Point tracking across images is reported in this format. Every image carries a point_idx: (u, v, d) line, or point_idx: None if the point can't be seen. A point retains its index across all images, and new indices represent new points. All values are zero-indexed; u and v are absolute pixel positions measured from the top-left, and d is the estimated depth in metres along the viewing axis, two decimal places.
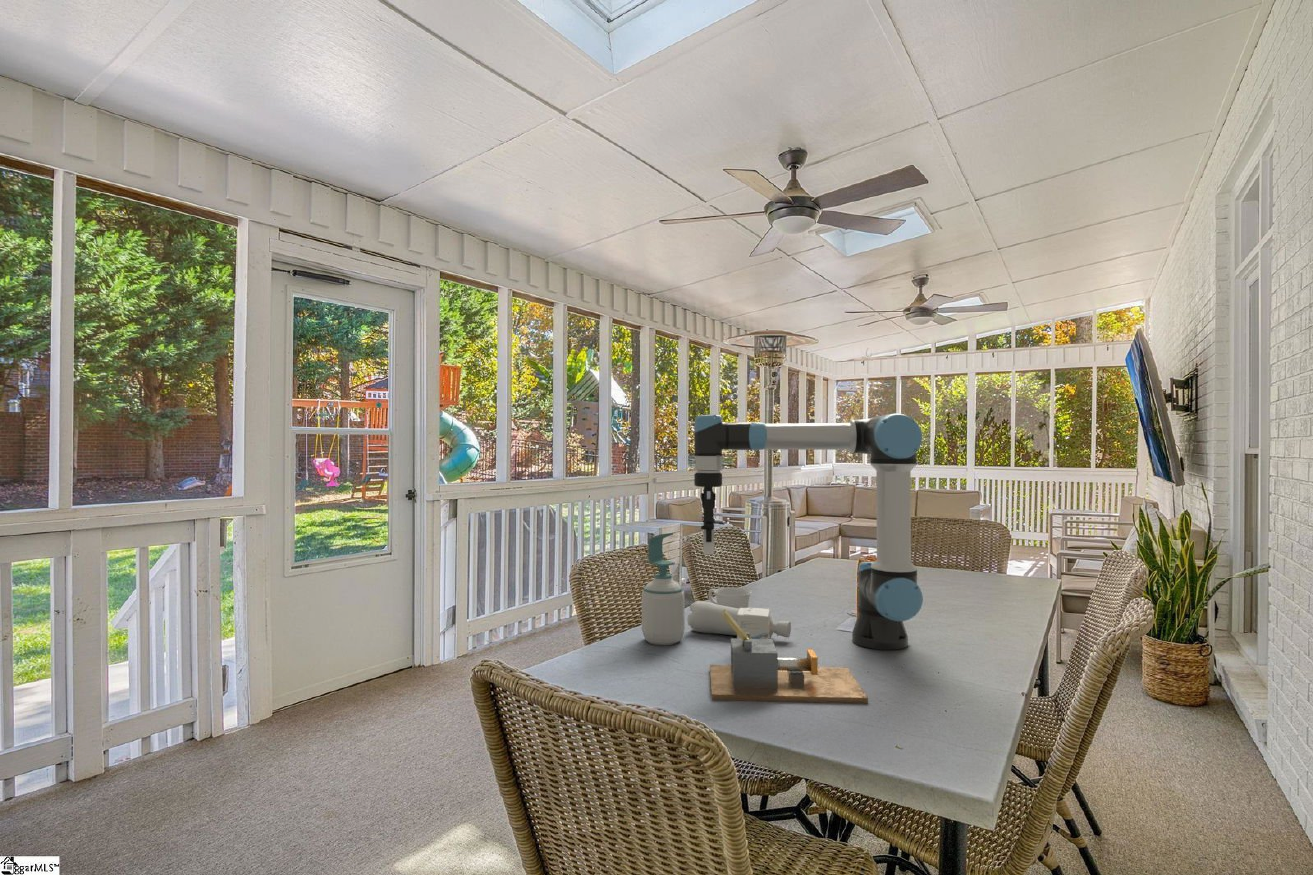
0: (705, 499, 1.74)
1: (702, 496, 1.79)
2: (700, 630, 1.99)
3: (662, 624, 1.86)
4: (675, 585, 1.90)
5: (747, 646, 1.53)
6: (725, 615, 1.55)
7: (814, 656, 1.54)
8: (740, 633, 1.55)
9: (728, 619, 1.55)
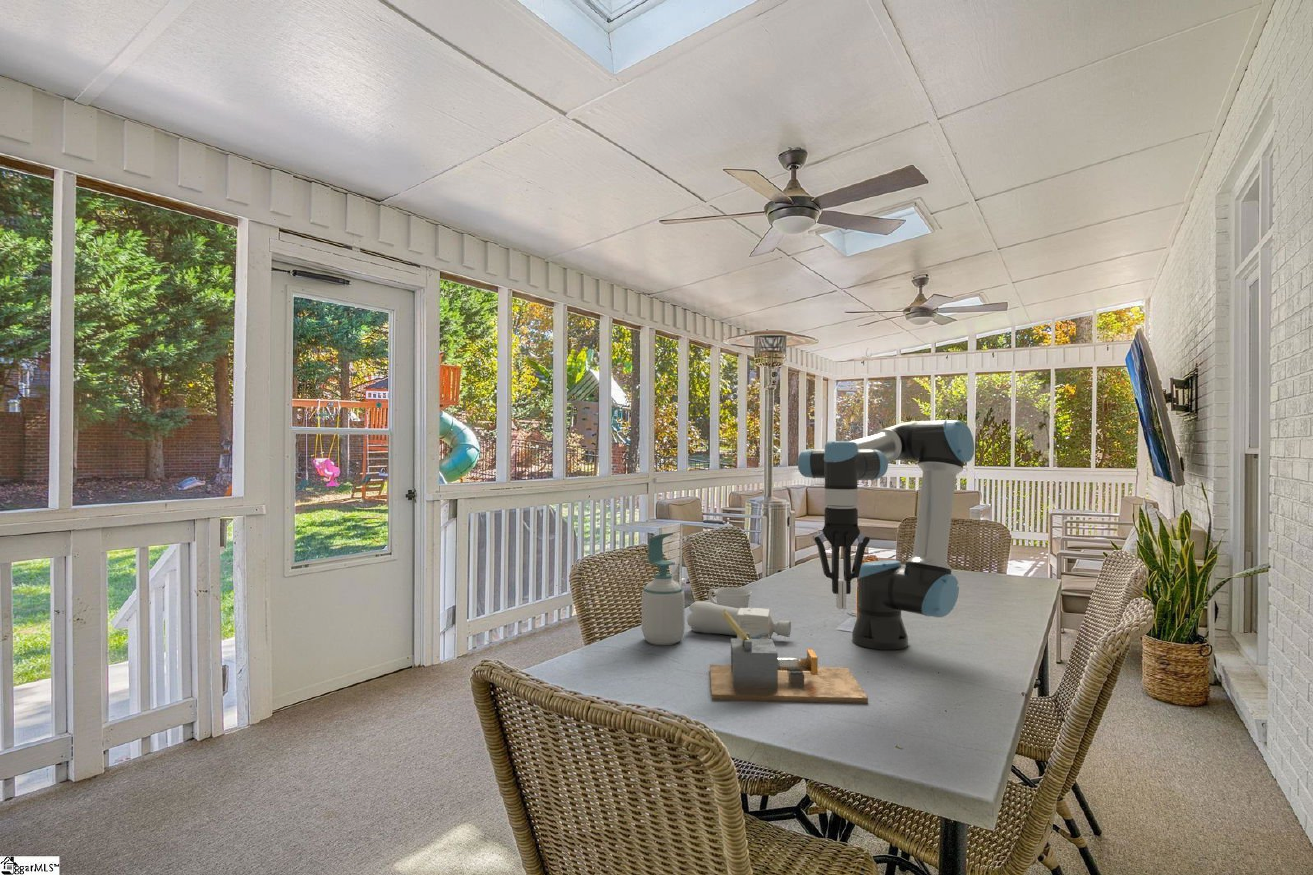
0: (817, 545, 1.57)
1: None
2: (700, 630, 1.99)
3: (662, 624, 1.86)
4: (675, 585, 1.90)
5: (747, 646, 1.53)
6: (725, 615, 1.55)
7: (814, 656, 1.54)
8: (740, 633, 1.55)
9: (728, 619, 1.55)
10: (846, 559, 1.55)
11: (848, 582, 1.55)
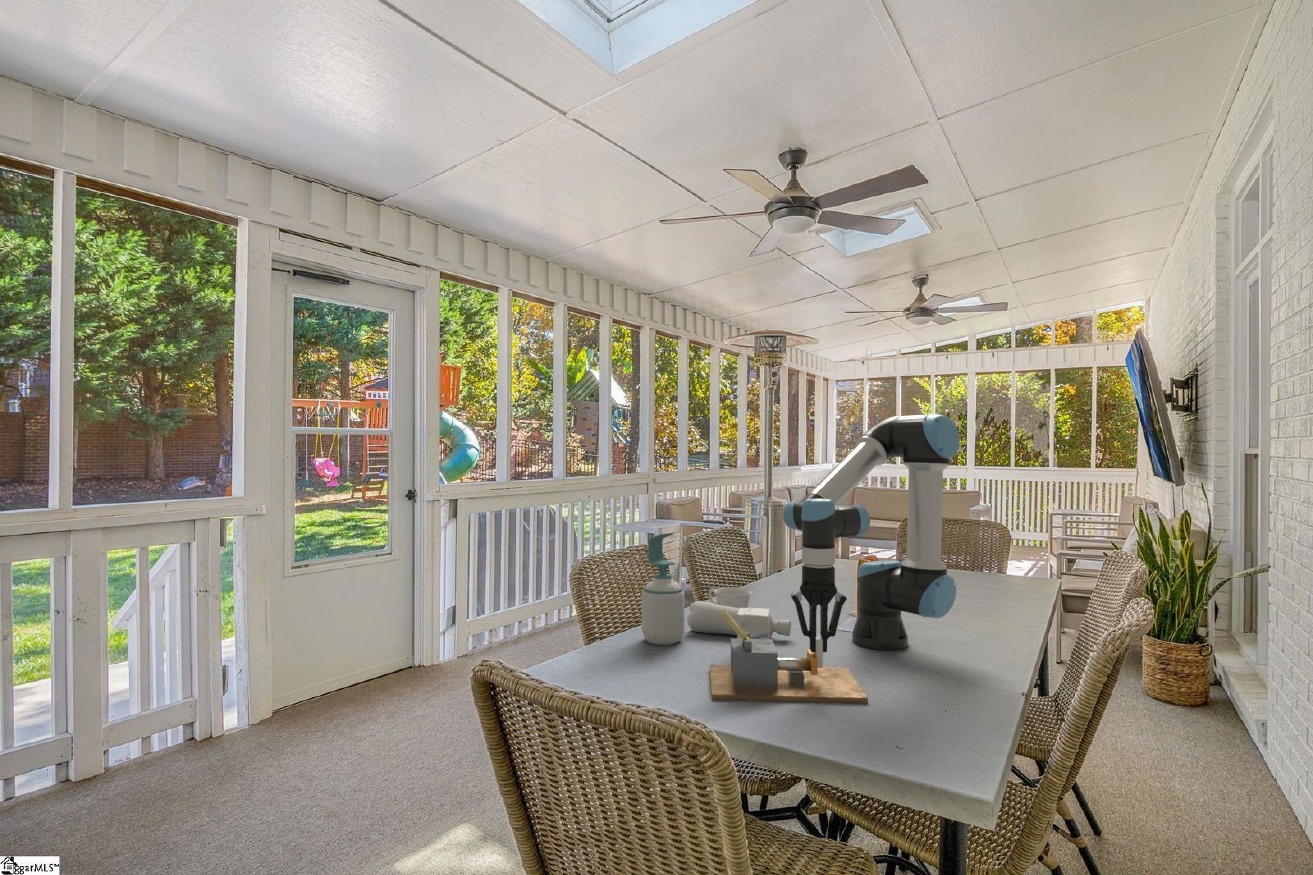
0: None
1: None
2: (700, 630, 1.99)
3: (662, 624, 1.86)
4: (675, 585, 1.90)
5: (747, 646, 1.53)
6: (725, 615, 1.55)
7: (814, 656, 1.54)
8: (740, 633, 1.55)
9: (728, 619, 1.55)
10: (823, 618, 1.55)
11: (825, 641, 1.55)
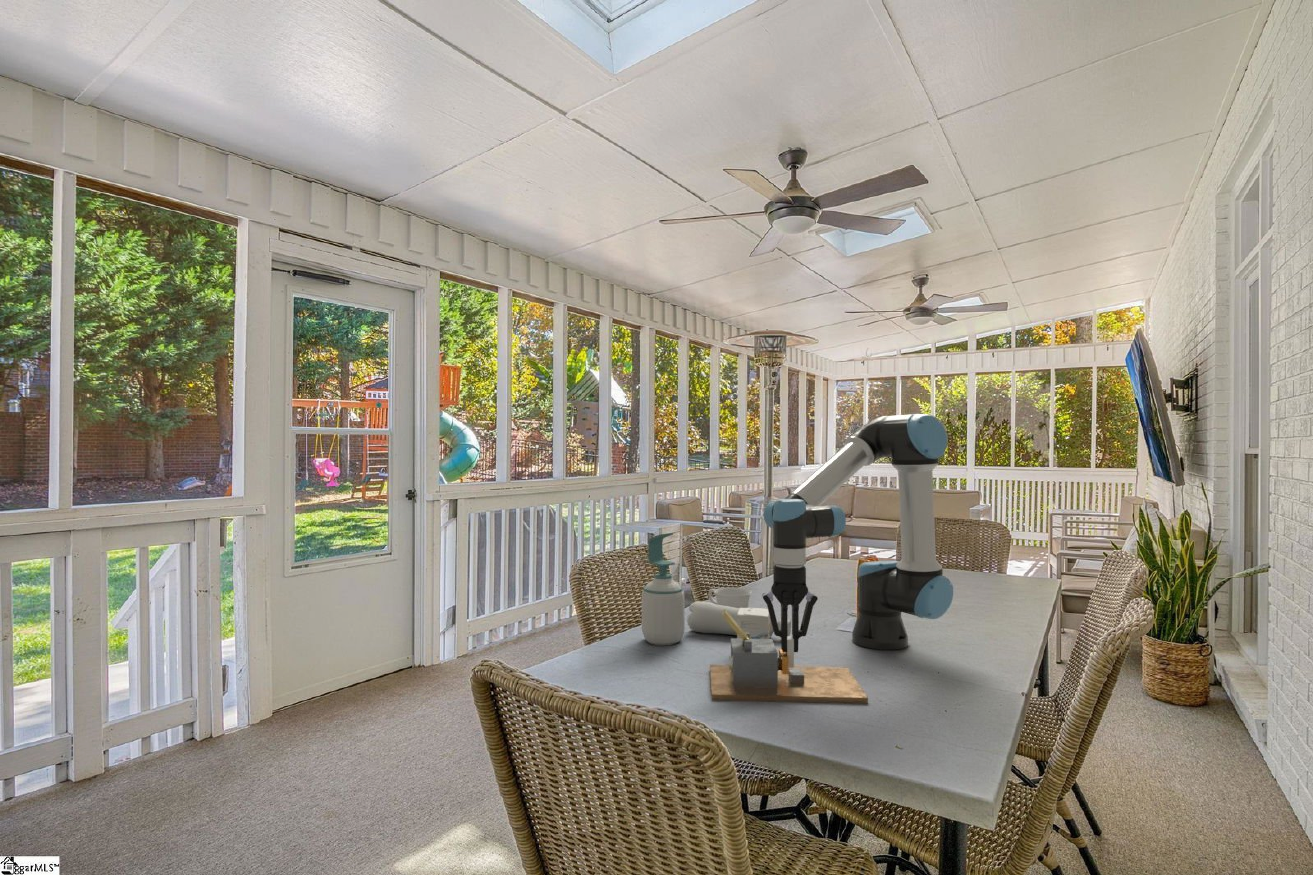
0: None
1: None
2: (700, 630, 1.99)
3: (662, 624, 1.86)
4: (675, 585, 1.90)
5: (747, 646, 1.53)
6: (725, 615, 1.55)
7: (785, 655, 1.54)
8: (740, 633, 1.55)
9: (728, 619, 1.55)
10: (794, 618, 1.55)
11: (796, 640, 1.56)
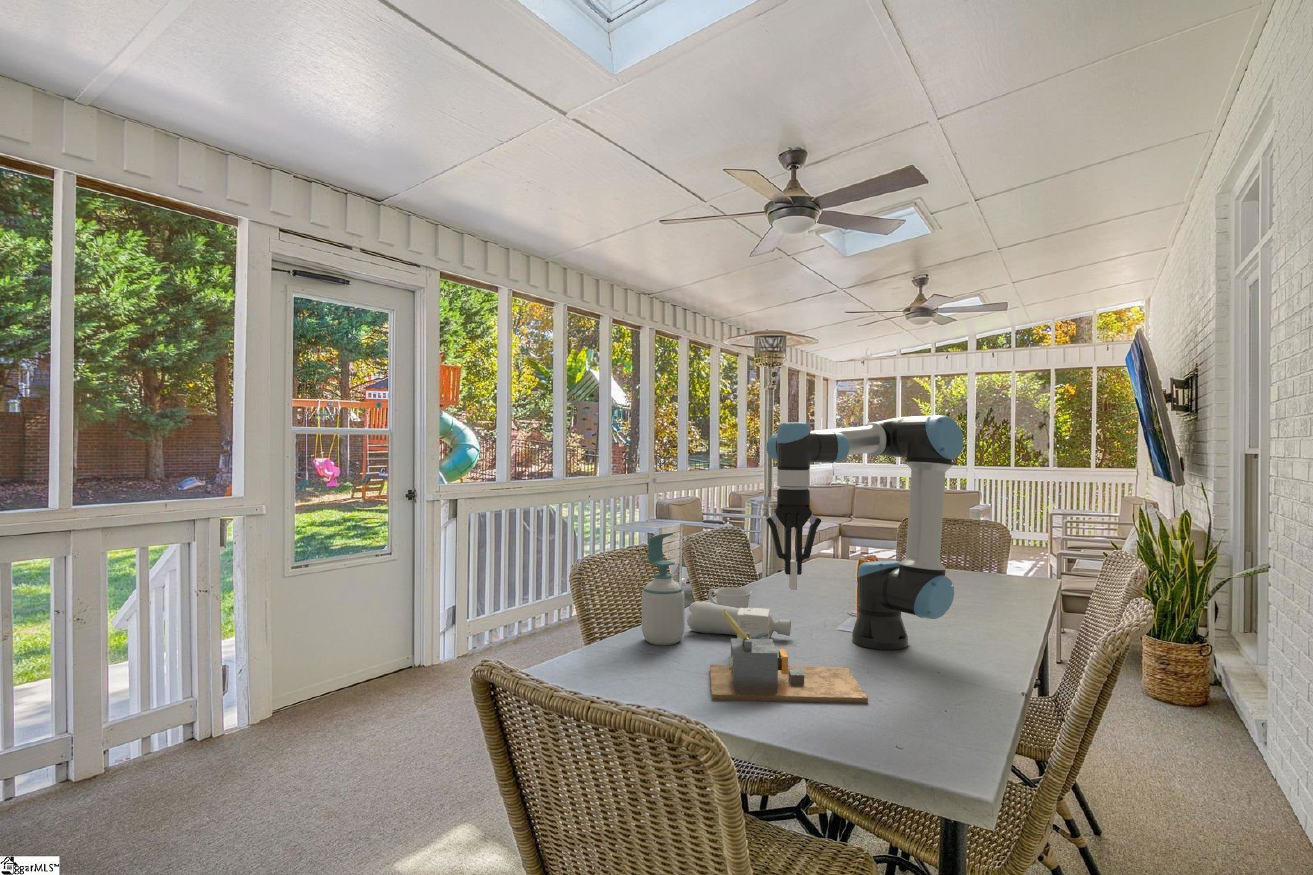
0: (770, 526, 1.58)
1: None
2: (700, 630, 1.99)
3: (662, 624, 1.86)
4: (675, 585, 1.90)
5: (747, 646, 1.53)
6: (725, 615, 1.55)
7: (785, 655, 1.54)
8: (740, 633, 1.55)
9: (728, 619, 1.55)
10: (797, 540, 1.56)
11: (799, 563, 1.56)
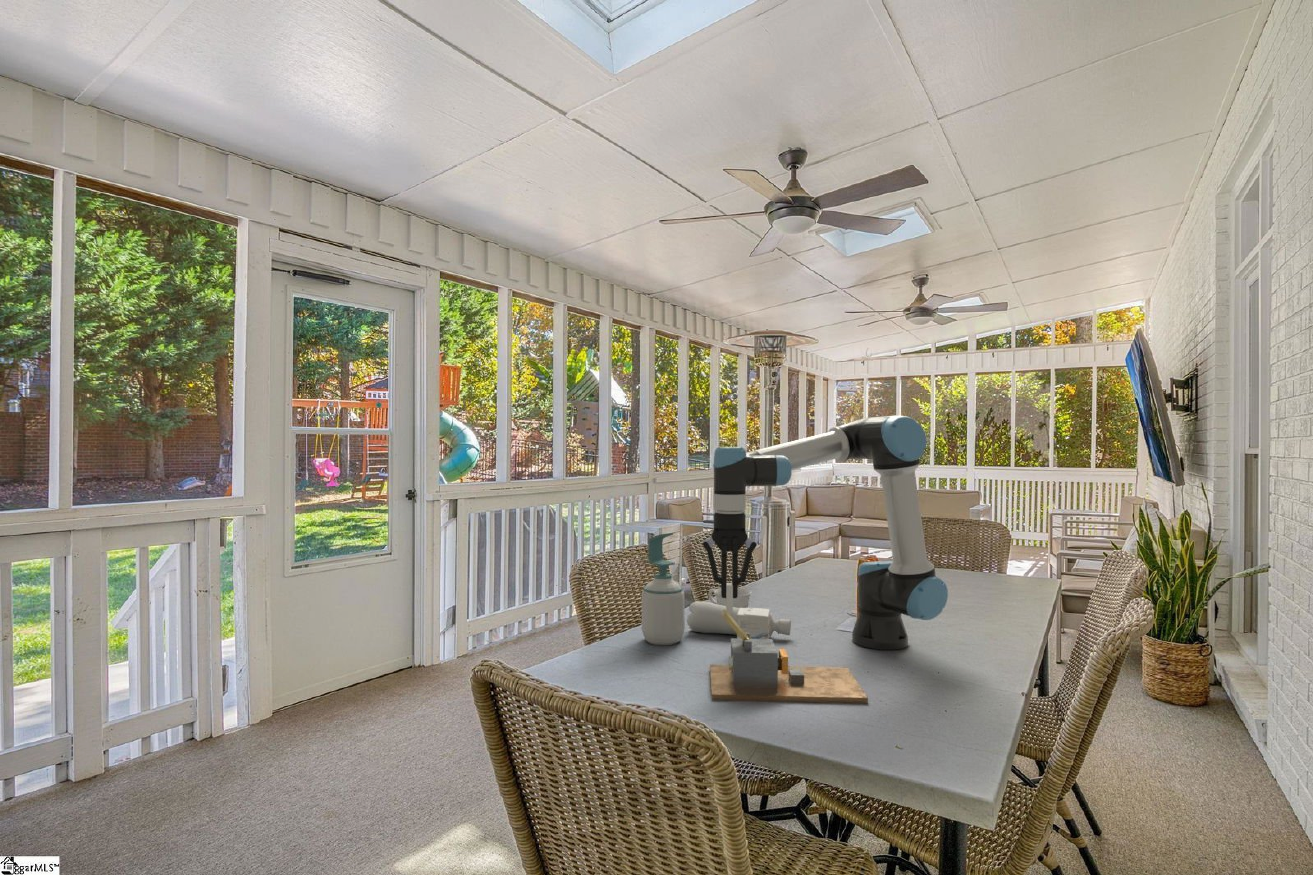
0: None
1: None
2: (700, 630, 1.99)
3: (662, 624, 1.86)
4: (675, 585, 1.90)
5: (747, 646, 1.53)
6: (725, 615, 1.55)
7: (785, 655, 1.54)
8: (740, 633, 1.55)
9: (728, 619, 1.55)
10: (733, 564, 1.56)
11: (735, 586, 1.57)
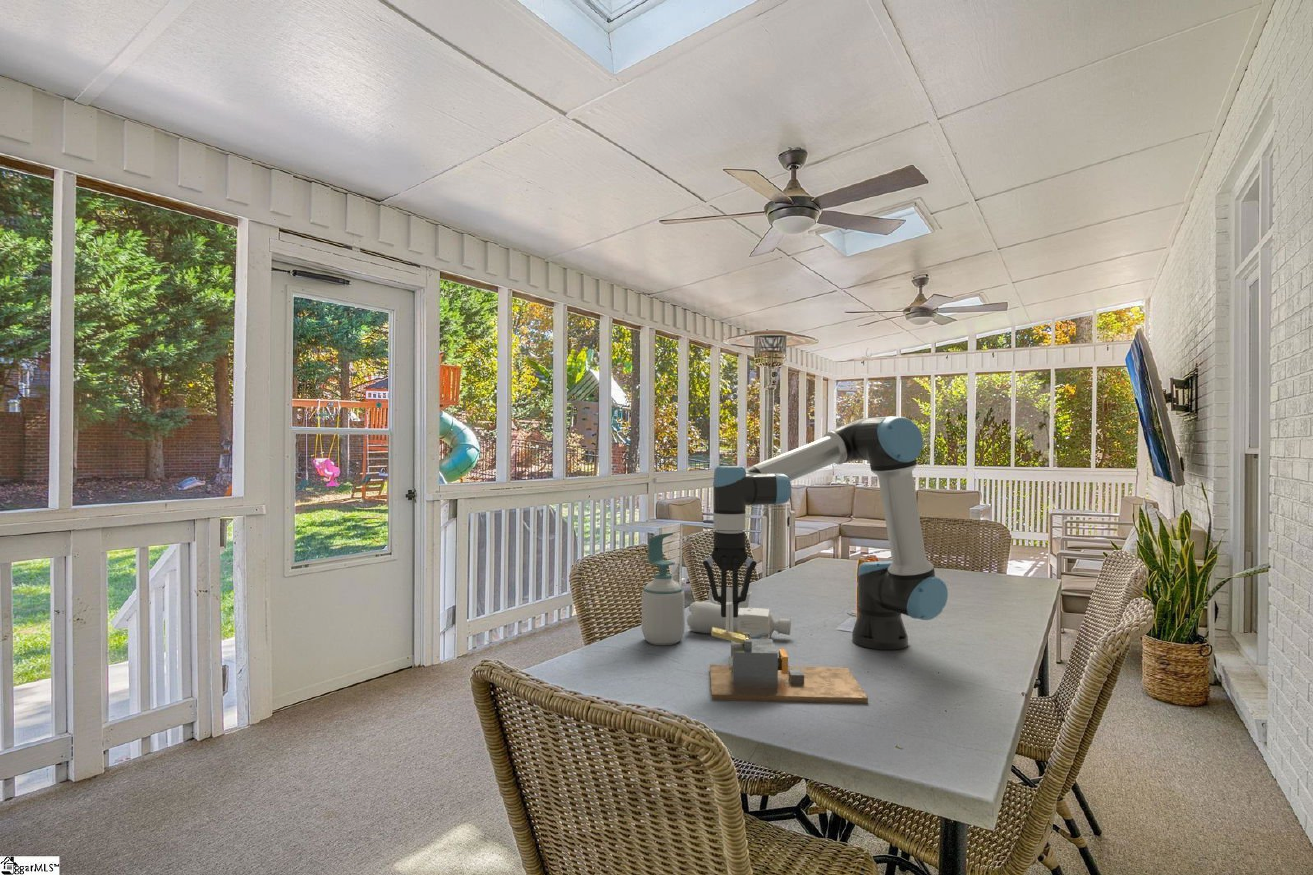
0: None
1: None
2: (700, 630, 1.99)
3: (662, 624, 1.86)
4: (675, 585, 1.90)
5: (747, 646, 1.53)
6: (713, 633, 1.56)
7: (785, 655, 1.54)
8: (736, 639, 1.55)
9: (718, 635, 1.55)
10: (733, 583, 1.56)
11: (735, 606, 1.57)
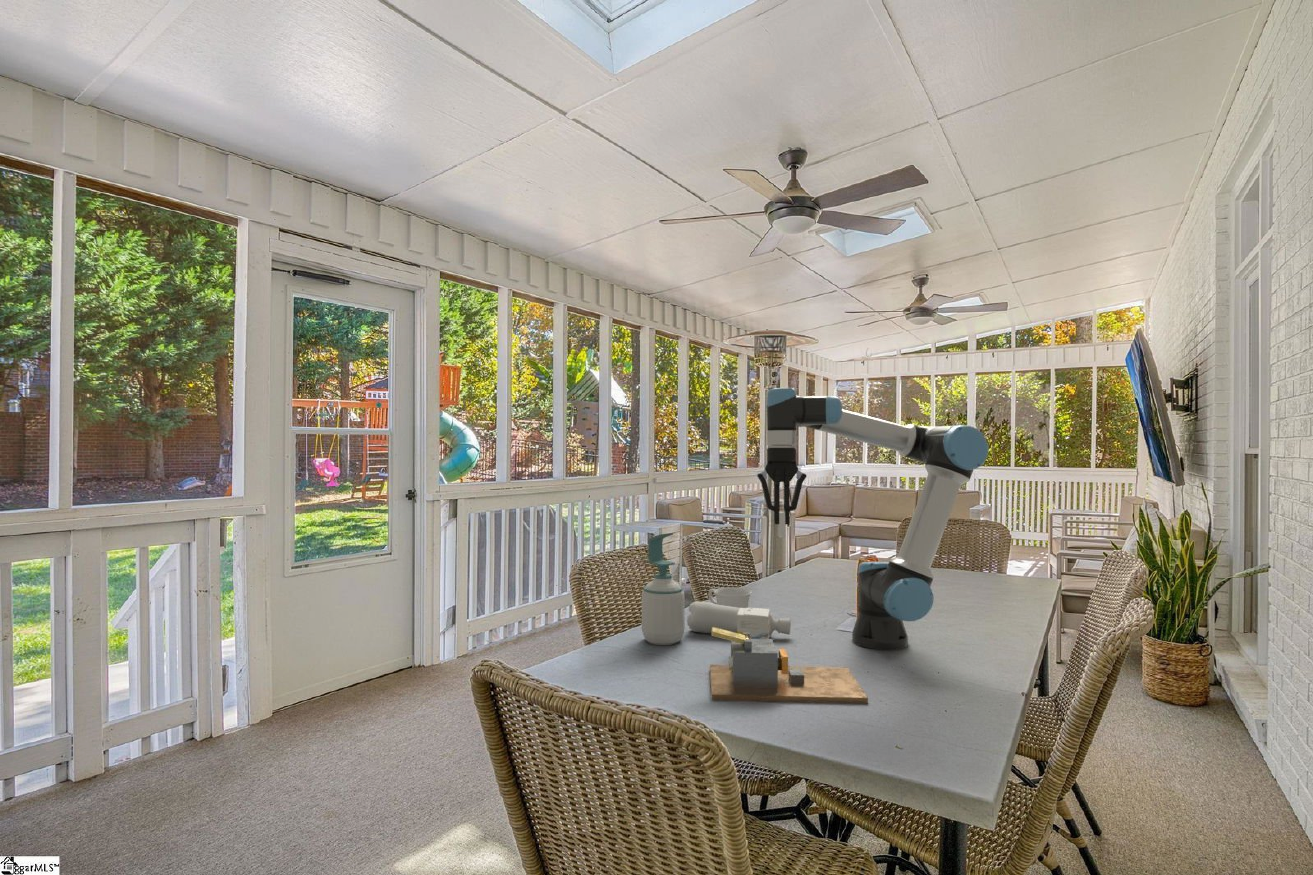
0: None
1: None
2: (700, 630, 1.99)
3: (662, 624, 1.86)
4: (675, 585, 1.90)
5: (747, 646, 1.53)
6: (713, 633, 1.56)
7: (785, 655, 1.54)
8: (736, 639, 1.55)
9: (718, 635, 1.55)
10: (785, 493, 1.74)
11: (787, 514, 1.74)
